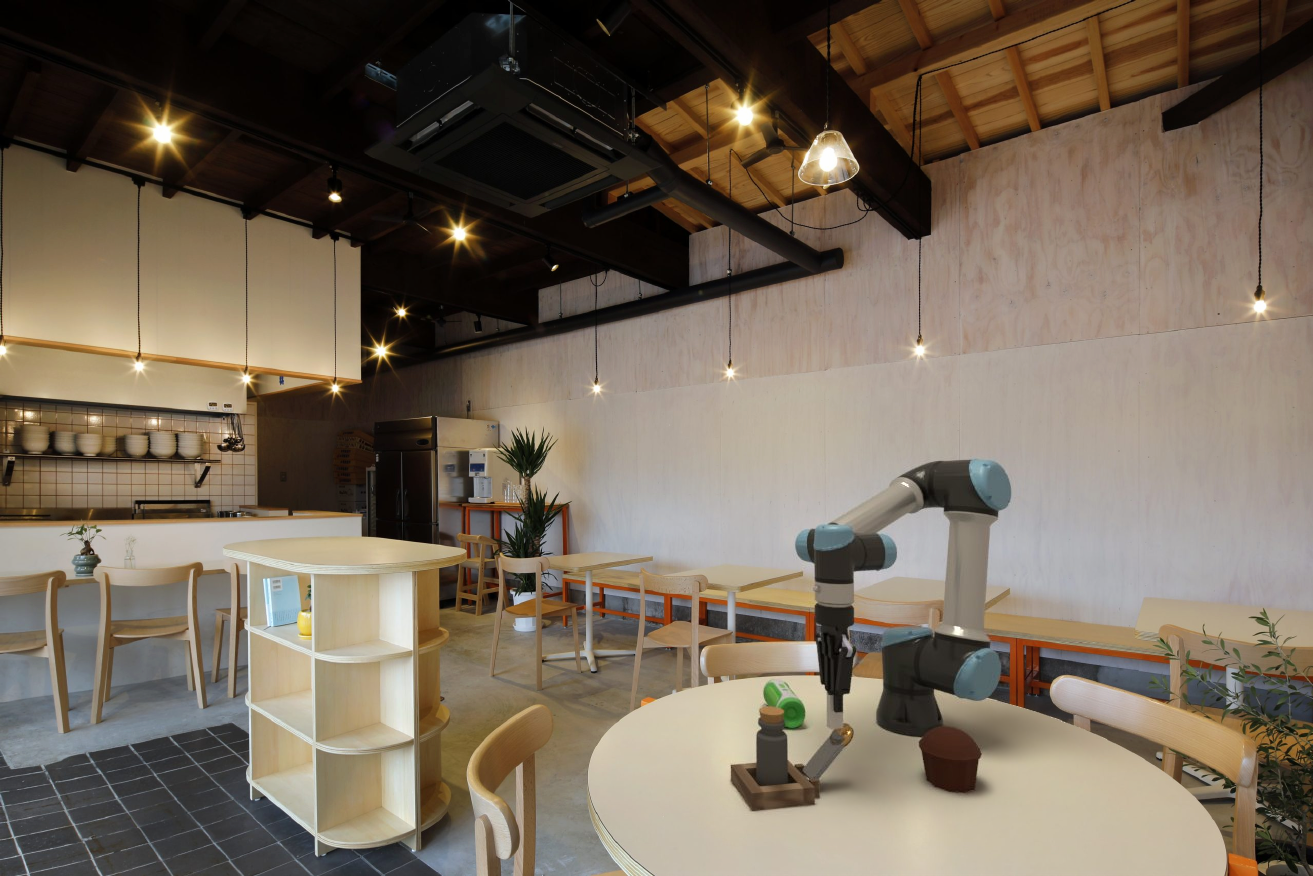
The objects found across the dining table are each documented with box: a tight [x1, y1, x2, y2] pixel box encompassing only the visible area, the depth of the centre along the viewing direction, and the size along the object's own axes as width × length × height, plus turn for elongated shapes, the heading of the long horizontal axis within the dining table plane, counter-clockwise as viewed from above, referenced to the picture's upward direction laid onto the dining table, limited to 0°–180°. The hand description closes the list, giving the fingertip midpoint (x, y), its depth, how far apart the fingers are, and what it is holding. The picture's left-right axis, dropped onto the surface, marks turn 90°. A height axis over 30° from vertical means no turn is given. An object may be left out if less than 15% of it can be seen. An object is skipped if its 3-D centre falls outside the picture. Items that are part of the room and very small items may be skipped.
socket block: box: [730, 759, 820, 812], centre depth 122 cm, size 14×12×3 cm
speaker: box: [762, 678, 806, 729], centre depth 161 cm, size 18×7×8 cm, turn 3°
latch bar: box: [800, 722, 855, 781], centre depth 124 cm, size 14×5×1 cm
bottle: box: [755, 705, 789, 787], centre depth 122 cm, size 6×6×15 cm
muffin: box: [918, 725, 983, 794], centre depth 126 cm, size 12×11×10 cm
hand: (835, 727), depth 125 cm, fingers closed
